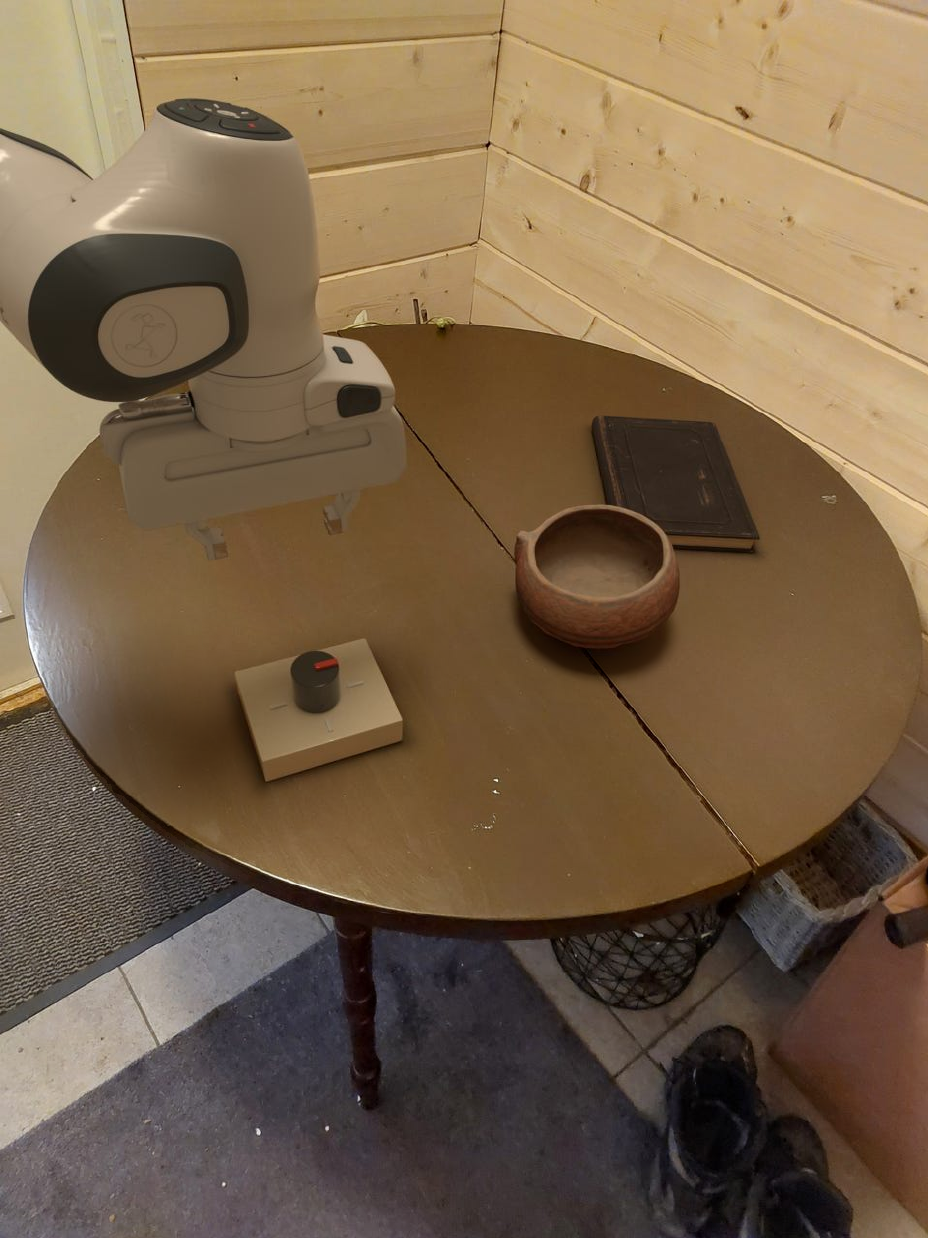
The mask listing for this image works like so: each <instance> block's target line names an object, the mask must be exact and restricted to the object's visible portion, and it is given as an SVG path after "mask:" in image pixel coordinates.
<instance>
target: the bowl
mask: <svg viewBox="0 0 928 1238" xmlns="http://www.w3.org/2000/svg"><path fill="white" fill-rule="evenodd" d="M513 555H514V556H513V557H514V564H515V581H514V583H515V591H516V595H517V599H518V600H519V602H520V607H521V608H522V609H523V611H524V612H525V613H526V615H527V616H528V618H529V619H530V621H531V622H532V623H533V624H535V625H536V626H537V627H538V628H539V629H540V630H542V632H544V633H545V634H546V635H549V636H551V637H553V638H556V639H557V640H559V641H561V642H564V643H567V644H569V645H571V646H574V647H579V648H585V649H611V648H617V647H619V646H621V645H624V644H631V643H634V642H638V641H640V640H643V639H645V638H647V637H648V636H650V635H652V634H653V633H655V631H656V630H657V629H659V628H660V627H661V626H662V625H663V624H664V623H665V622H667V621H668V620H669V618H670V616H671V615H672V614H673V613H674V612H675V608H676V606H677V604H678V600H679V596H680V590H681V589H680V588H681V585H680V584H681V583H680V582H681V579H680V578H681V577H680V576H681V575H680V574H681V572H680V567H679V562H678V559H677V556H676V552H675V549H673V547H672V544H671V542H670V540H669V538H668V537H667V535H666V534H665V533H664V531H663V530H662V529H661V528H660V527H659V526H658V525H656V524H655V523H654V522H653V521H651V520H649V519H648V518H646V517H644V516H643V515H641V514H639V513H636V512H634V511H631V510H628V509H625V508H621V507H617V506H612V505H607V504H585V505H578V506H573V507H569V508H564V509H563V510H561V511H559V512H556V513H555V514H553V515H552V516H551V515H550V517H548V518H546V519H544V520H543V521H542V522H541V523H540V524H539V525H538V526H537V527H536V528H535V529H534V530H532V531H525V530H520V531H518V533H517V535H516V541H515V543H514V554H513Z"/></svg>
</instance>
